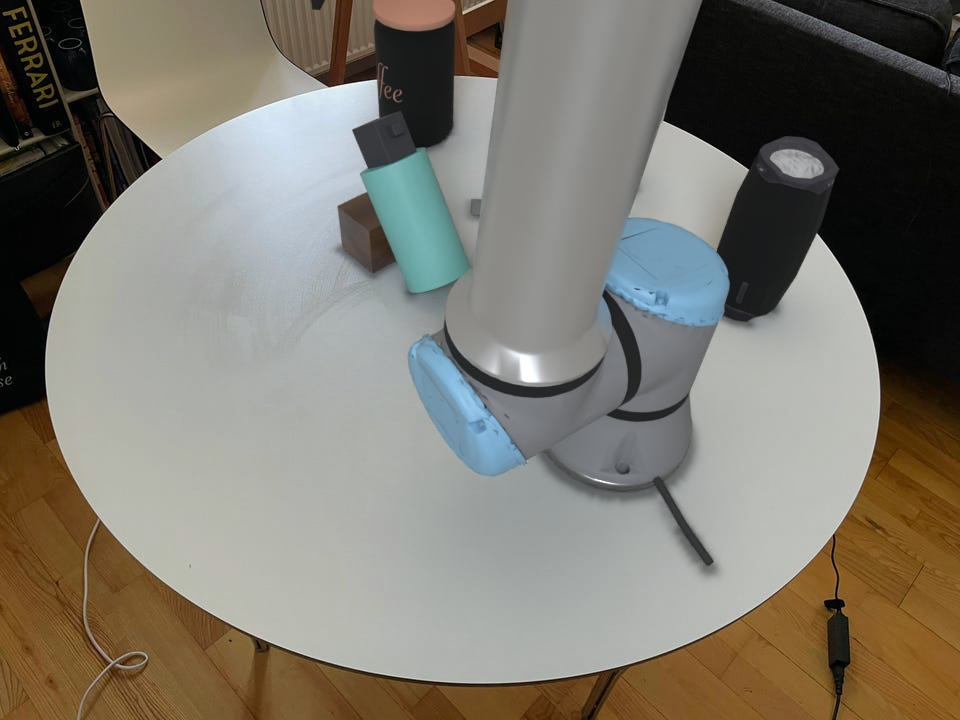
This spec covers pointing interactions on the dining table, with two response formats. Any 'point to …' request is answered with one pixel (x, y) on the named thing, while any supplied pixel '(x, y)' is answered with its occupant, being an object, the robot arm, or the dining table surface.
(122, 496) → the dining table surface
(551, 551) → the dining table surface
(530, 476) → the dining table surface
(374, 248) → the block
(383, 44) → the coffee jar
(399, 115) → the spray bottle
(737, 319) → the portable speaker
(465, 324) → the robot arm
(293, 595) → the dining table surface
